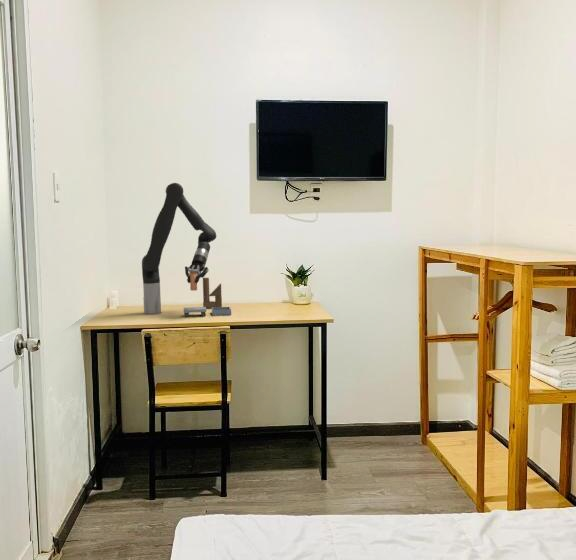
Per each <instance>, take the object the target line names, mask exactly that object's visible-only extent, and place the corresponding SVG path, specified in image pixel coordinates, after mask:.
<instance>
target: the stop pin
mask: <svg viewBox="0 0 576 560" xmlns="http://www.w3.org/2000/svg"><path fill="white" fill-rule="evenodd" d="M188 272H189V273H190V283H189V284H190V286H189V287H190V289H189V290H190V291H197V290H198V283H195V279H196V276H197V272H198V269H190V270H189V271H188Z"/></svg>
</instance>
